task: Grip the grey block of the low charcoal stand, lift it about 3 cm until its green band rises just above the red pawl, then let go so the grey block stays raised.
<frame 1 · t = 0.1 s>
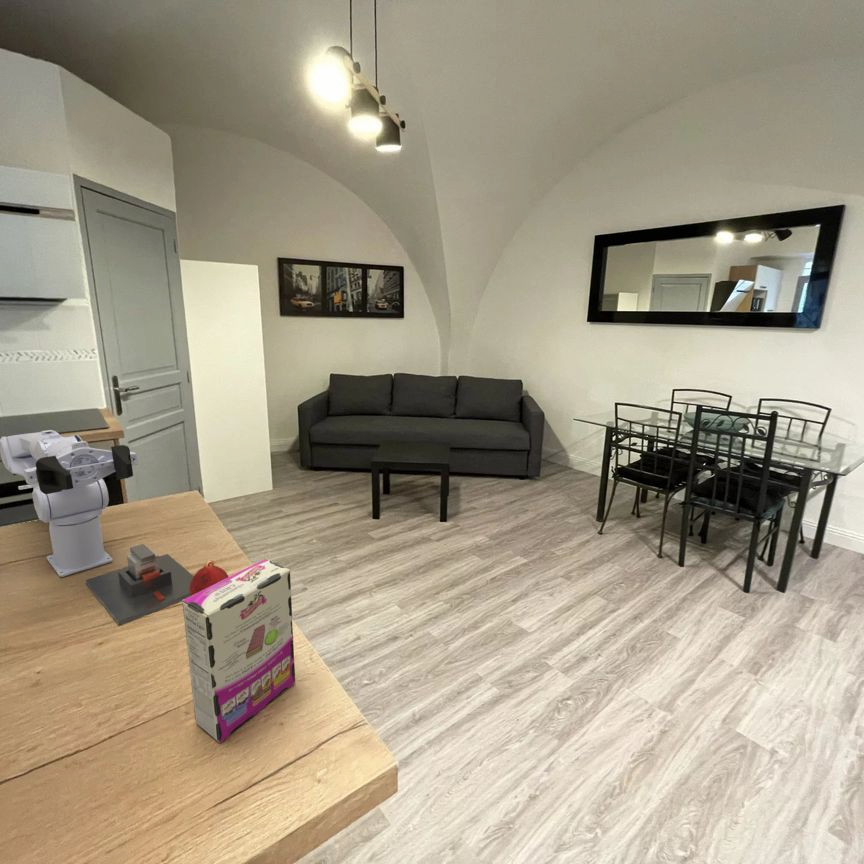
hand: (100, 475, 71), 22 cm above the table, tool horizontal, fingers open, 7 cm apart
candy bar box: (247, 704, 58), on the table
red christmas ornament: (211, 608, 77), on the table
grey block: (144, 566, 80), point 4 cm above the table, slide at 0.0 cm
stand: (146, 587, 81), on the table
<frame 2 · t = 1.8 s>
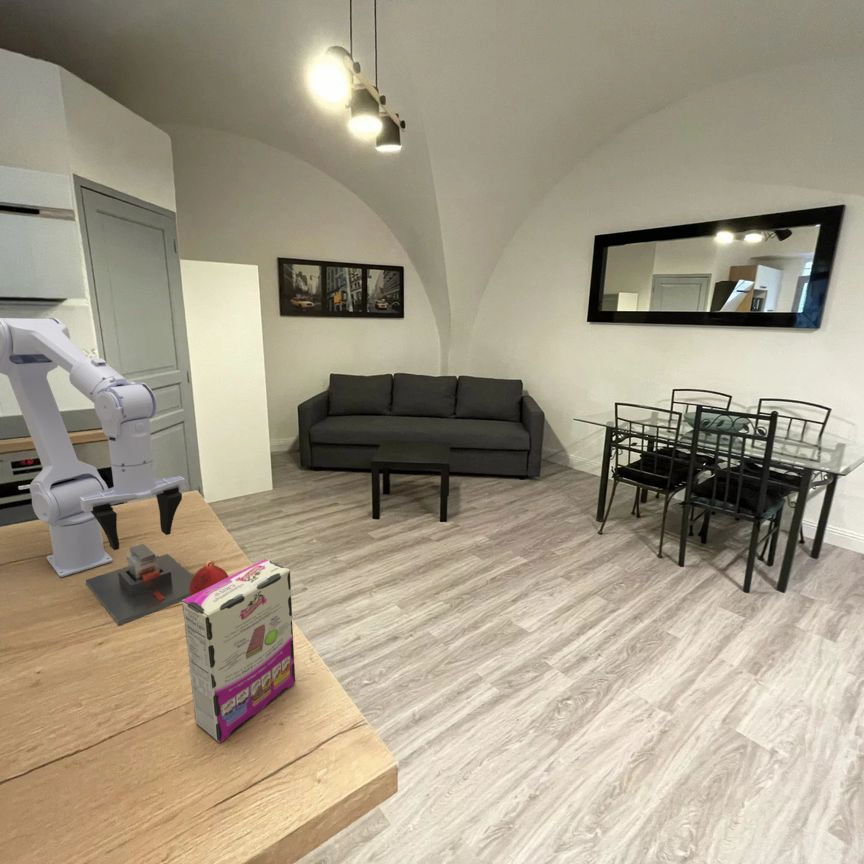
hand: (141, 539, 79), 9 cm above the table, tool pointing down, fingers open, 7 cm apart
nothing on the table moved.
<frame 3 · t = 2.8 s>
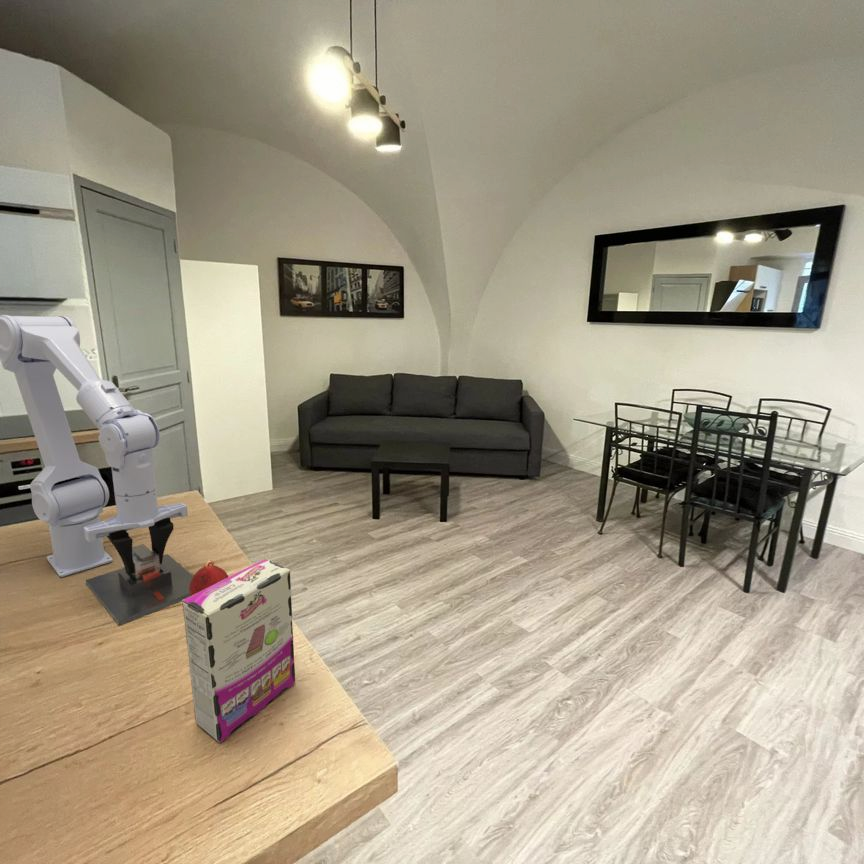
hand: (144, 566, 80), 4 cm above the table, tool pointing down, fingers closed on grey block, 4 cm apart
grey block: (144, 566, 80), point 4 cm above the table, slide at 0.0 cm, touching gripper
everything else where it was.
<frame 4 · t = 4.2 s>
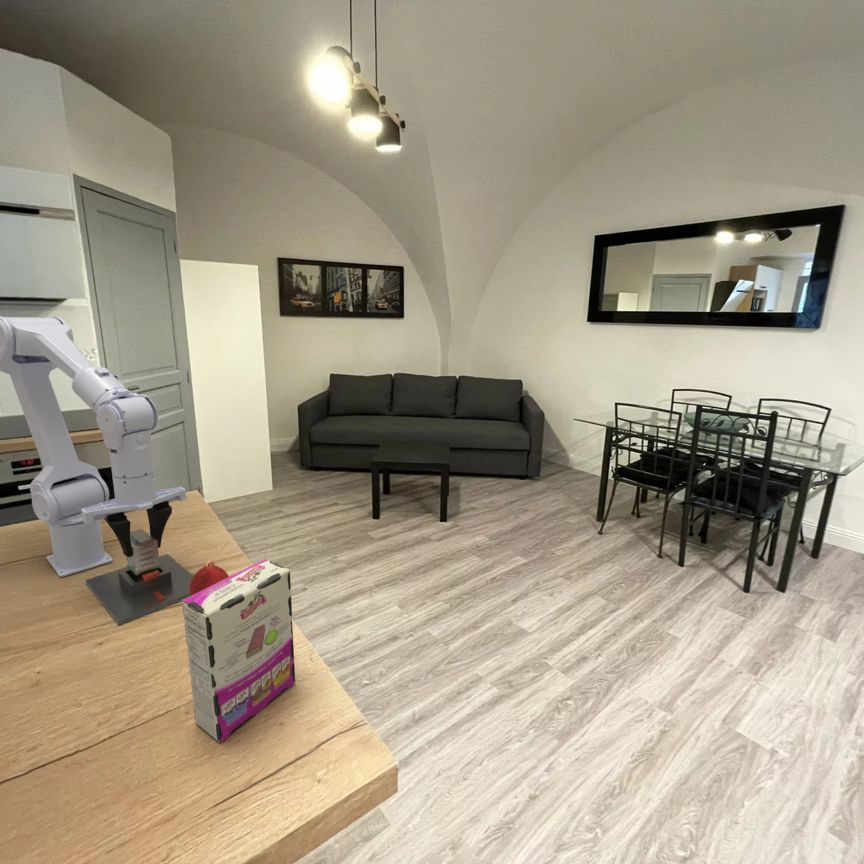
hand: (142, 550, 79), 7 cm above the table, tool pointing down, fingers closed on grey block, 4 cm apart
grey block: (142, 551, 79), point 7 cm above the table, slide at 2.8 cm, touching gripper
everything else where it was.
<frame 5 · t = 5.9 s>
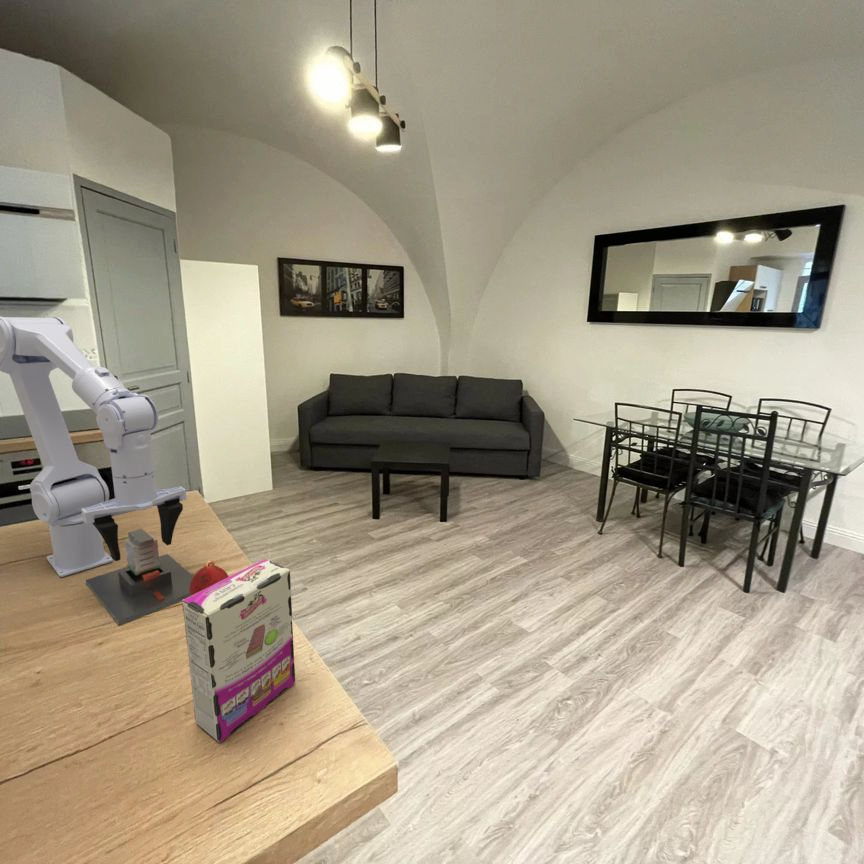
hand: (142, 550, 79), 7 cm above the table, tool pointing down, fingers open, 7 cm apart
grey block: (142, 551, 79), point 7 cm above the table, slide at 2.8 cm
everything else where it was.
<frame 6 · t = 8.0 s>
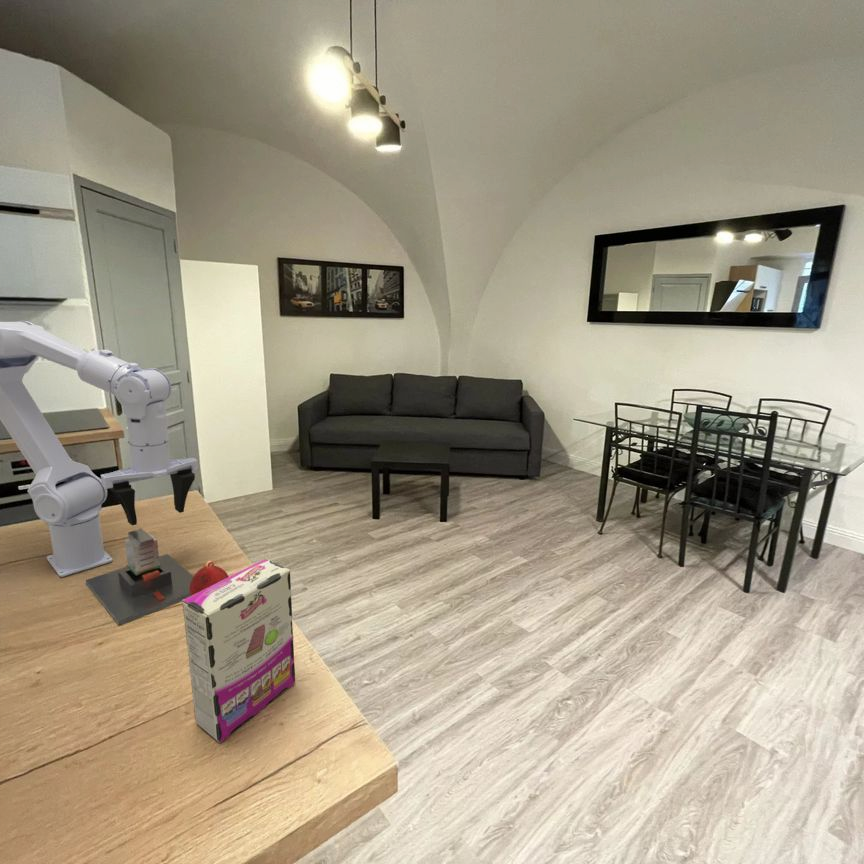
hand: (156, 516, 84), 10 cm above the table, tool pointing down, fingers open, 7 cm apart
nothing on the table moved.
at the end: grey block slide at 2.8 cm; the gripper is holding nothing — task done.
